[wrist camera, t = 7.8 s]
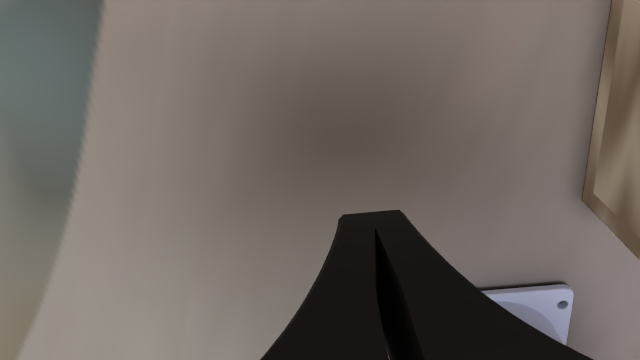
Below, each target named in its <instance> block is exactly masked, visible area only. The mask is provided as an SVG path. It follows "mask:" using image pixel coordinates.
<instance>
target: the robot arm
mask: <svg viewBox="0 0 640 360" xmlns="http://www.w3.org/2000/svg"><path fill="white" fill-rule="evenodd" d="M573 298H574V292H573V291H572V290H571V288H570V287H569V286H568V285H565V284H559V285H547V286H535V287H523V288H511V289H499V290H487V291H480V290H479V289H478V288H476V287H475V286H474V285H473V284H472V283H471V282H469V281H468V280H467V279H466V278H465V277H464V276H462V275H461V274H460V273H459V272H458V271H457V270H456V269H455V268H454V267H452V266H451V265H450V264H449V263H448V262H447V261H446V260H445V259H444V258H443V257H442V256H441V255H440V254H439V253H438V252H437V251H436V250H435V249H434V248H433V247H432V246H431V245H430V244H429V243H428V242H427V241H426V239H425V238H424V237H423V236H422V235H421V234H420V233H419V232H418V231H417V229H416V228H415V227H414V226H413V225H412V223H411V222H410V221H409V220H408V219H407V217H406V216H405V215H404V214H403V213H402V212H401V211H400V210H390V211H379V212H368V213H357V214H346V215H343V216H342V217H341V218H340V219H339V220H338V227H337V231H336V234H335V238H334V240H333V243H332V246H331V249H330V251H329V253H328V255H327V258H326V260H325V262H324V264H323V267H322V269H321V271H320V273H319V275H318V277H317V279H316V280H315V282H314V284H313V286H312V288H311V289H310V291H309V293H308V295H307V297H306V298H305V300H304V302H303V303H302V305H301V306H300V308H299V310H298V311H297V313H296V314H295V316H294V317H293V318H292V320H291V321H290V323H289V324H288V326H287V327H286V328H285V330H284V331H283V332H282V334H281V335H280V336H279V337H278V339H277V340H276V341H275V342H274V344H273V345H272V346H271V347H270V349H269V350H268V351H267V352H266V354H265V355H264V356H263V357H262V358H261V359H260V360H389V359H390V360H593V359H591V358H589V357H587V356H585V355H583V354H581V353H579V352H577V351H575V350H573V349H571V348H569V347H567V346H566V342H567V336H568V330H569V323H570V317H571V311H572V304H573ZM561 301H563V302H562V303H560V304H558V303H559V302H561ZM386 347H387V348H386ZM387 351H388V353H387ZM388 355H389V358H388Z"/></svg>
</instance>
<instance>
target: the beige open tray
mask: <svg viewBox="0 0 640 360" xmlns="http://www.w3.org/2000/svg"><path fill="white" fill-rule="evenodd" d="M582 201H583V202H584V203H585V204H586V205H587V206H588V207H589V208H590V209H591V210H592V211H593V212H594V213H595V214H596V215H597V216H598V217H599V218H600V219H601V221H602V222H603V223H604V224H605V225H606V226H607V227H608V228H609V229H610V230H611V231H612V232H613V233H614V234H615V235H616V236H617V237H618V238H619V239H620V240H621V241H622V242H623V243H624V244H625V245H626V247H627V248H628V249H629V250H630V251H631V252H632V253H633V254H634V255H635V256H636V257H637V258H638V259H639V260H640V0H612V4H611V10H610V17H609V24H608V30H607V37H606V44H605V50H604V57H603V64H602V70H601V77H600V84H599V90H598V97H597V104H596V110H595V117H594V124H593V130H592V137H591V144H590V150H589V157H588V164H587V170H586V177H585V184H584V190H583V197H582Z"/></svg>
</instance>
